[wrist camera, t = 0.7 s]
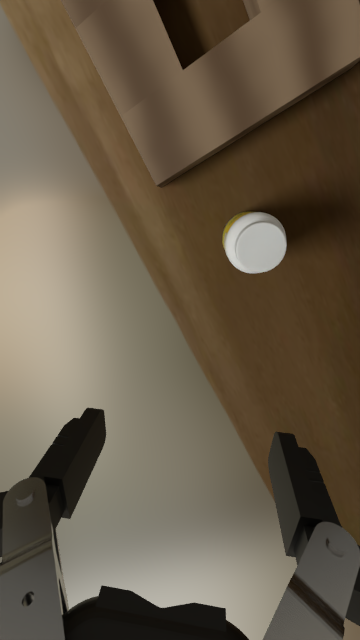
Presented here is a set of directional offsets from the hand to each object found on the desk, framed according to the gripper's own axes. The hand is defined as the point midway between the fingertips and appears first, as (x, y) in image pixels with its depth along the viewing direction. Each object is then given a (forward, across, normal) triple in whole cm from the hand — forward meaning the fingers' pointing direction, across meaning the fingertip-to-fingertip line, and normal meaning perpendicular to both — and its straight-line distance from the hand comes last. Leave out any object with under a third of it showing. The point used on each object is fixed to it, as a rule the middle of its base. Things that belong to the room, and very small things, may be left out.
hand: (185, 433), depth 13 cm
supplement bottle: (+23, -4, -7) cm, 25 cm away
